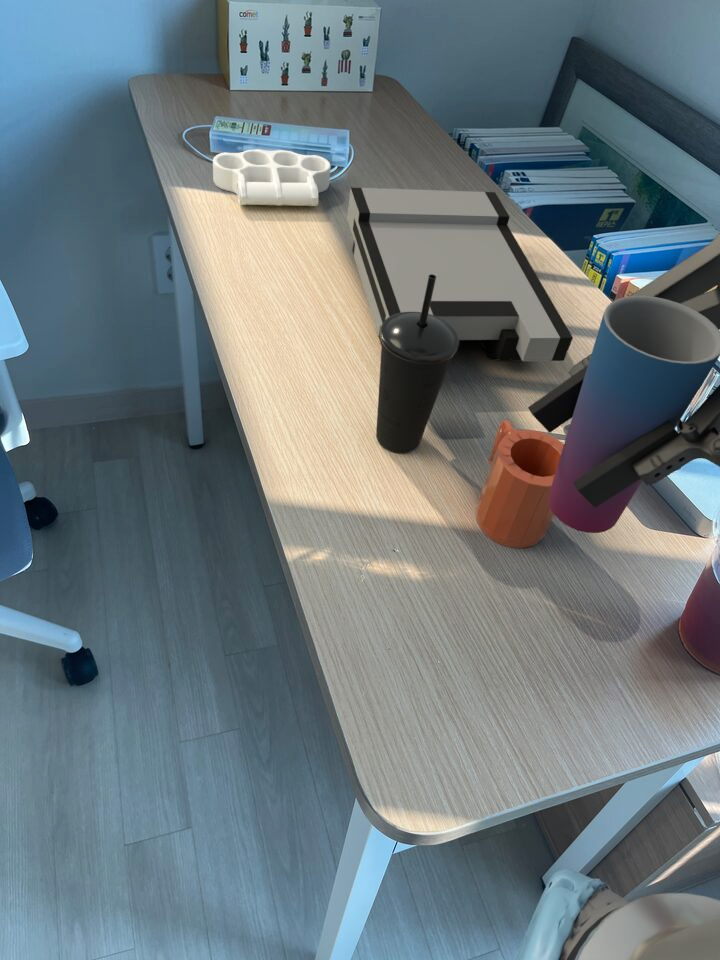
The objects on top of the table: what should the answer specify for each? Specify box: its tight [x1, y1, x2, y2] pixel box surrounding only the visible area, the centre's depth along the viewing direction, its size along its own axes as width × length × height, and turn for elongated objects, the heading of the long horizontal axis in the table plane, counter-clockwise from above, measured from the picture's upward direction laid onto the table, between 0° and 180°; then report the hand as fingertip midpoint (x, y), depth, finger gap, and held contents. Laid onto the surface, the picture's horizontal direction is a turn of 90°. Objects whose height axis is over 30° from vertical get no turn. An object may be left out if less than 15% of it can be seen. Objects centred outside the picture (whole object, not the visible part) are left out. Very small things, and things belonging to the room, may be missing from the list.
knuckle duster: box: [212, 148, 332, 207], centre depth 116 cm, size 3×18×15 cm
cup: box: [548, 295, 720, 534], centre depth 48 cm, size 7×7×15 cm
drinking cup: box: [375, 274, 460, 454], centre depth 75 cm, size 8×8×20 cm
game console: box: [346, 186, 574, 362], centre depth 97 cm, size 21×32×8 cm, turn 10°
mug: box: [475, 419, 564, 549], centre depth 73 cm, size 10×7×9 cm
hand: (560, 455), depth 49 cm, fingers closed on cup, 6 cm apart
